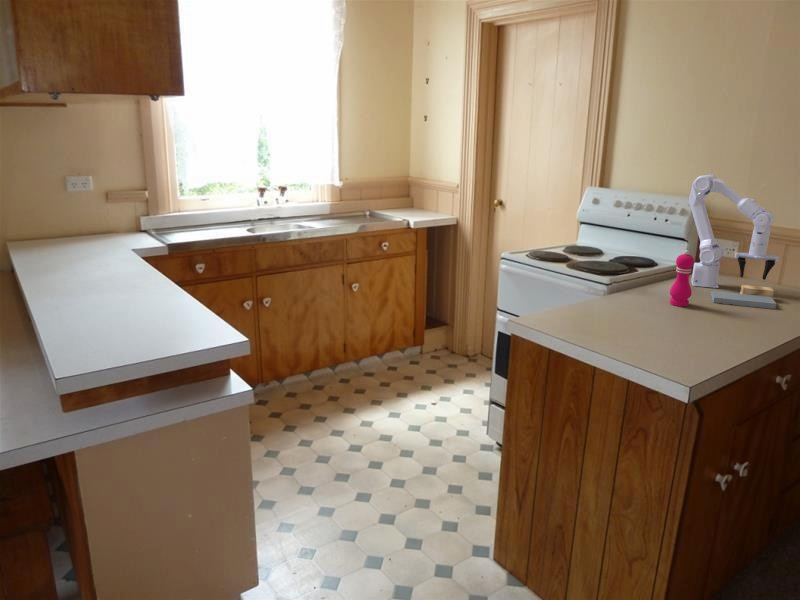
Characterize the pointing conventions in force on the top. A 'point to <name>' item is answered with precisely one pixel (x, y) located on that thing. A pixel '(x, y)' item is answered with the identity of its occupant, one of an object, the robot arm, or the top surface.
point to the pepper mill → (682, 280)
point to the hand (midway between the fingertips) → (752, 277)
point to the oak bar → (756, 290)
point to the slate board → (743, 299)
